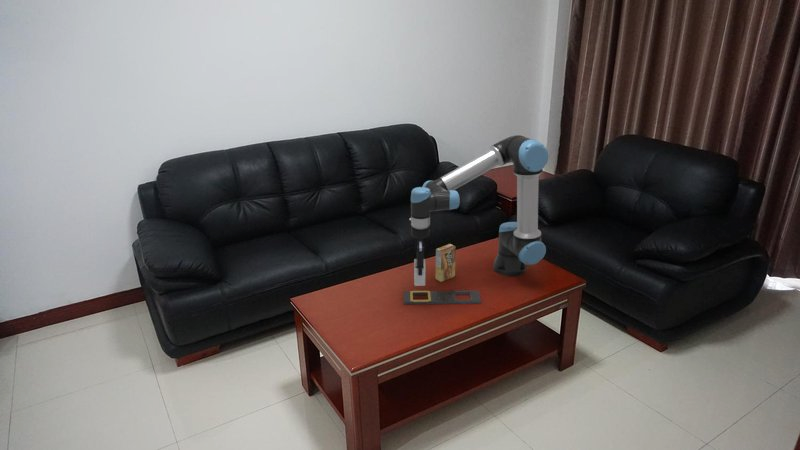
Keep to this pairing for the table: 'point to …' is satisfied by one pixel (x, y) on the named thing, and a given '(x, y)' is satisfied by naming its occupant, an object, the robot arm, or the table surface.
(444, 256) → the candy box
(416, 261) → the steel block
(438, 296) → the rail
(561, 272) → the table surface
